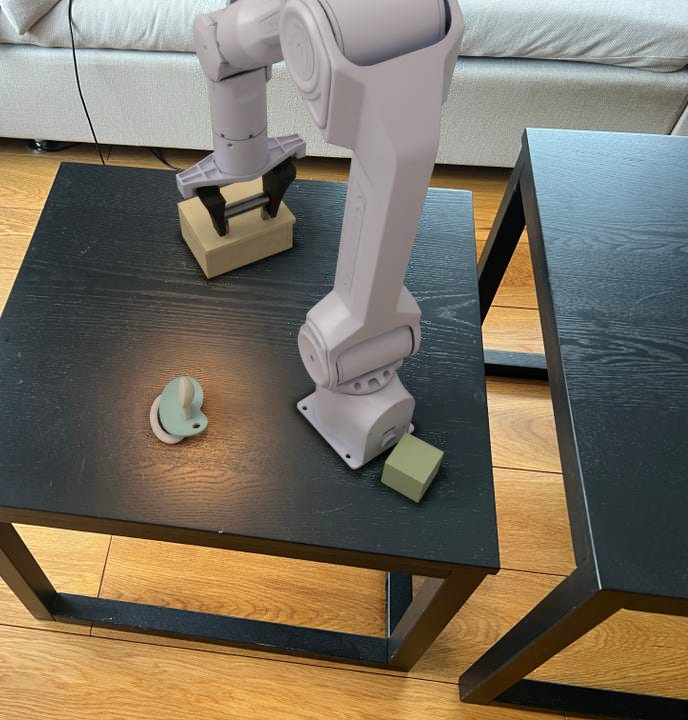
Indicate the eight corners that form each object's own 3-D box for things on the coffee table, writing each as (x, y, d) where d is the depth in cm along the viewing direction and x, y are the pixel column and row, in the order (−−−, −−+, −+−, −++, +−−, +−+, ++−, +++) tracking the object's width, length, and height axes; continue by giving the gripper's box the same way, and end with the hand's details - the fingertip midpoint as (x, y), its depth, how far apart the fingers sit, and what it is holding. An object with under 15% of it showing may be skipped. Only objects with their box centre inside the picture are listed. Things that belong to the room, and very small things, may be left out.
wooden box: (292, 247, 93) (292, 219, 89) (208, 279, 91) (204, 251, 87) (263, 206, 98) (262, 178, 94) (182, 235, 96) (177, 207, 92)
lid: (295, 223, 89) (296, 193, 85) (207, 255, 87) (203, 227, 83) (262, 177, 94) (261, 148, 90) (177, 207, 92) (173, 178, 88)
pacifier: (154, 453, 78) (211, 442, 77) (143, 421, 73) (204, 410, 72) (147, 395, 82) (202, 385, 82) (136, 361, 77) (194, 351, 77)
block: (437, 472, 73) (444, 452, 70) (418, 503, 72) (424, 484, 68) (400, 452, 75) (405, 431, 72) (380, 482, 73) (384, 462, 70)
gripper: (285, 82, 80) (285, 181, 91) (159, 124, 78) (175, 221, 89) (316, 117, 76) (313, 217, 87) (185, 162, 74) (198, 259, 85)
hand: (245, 221), depth 88 cm, fingers closed on lid, 6 cm apart
